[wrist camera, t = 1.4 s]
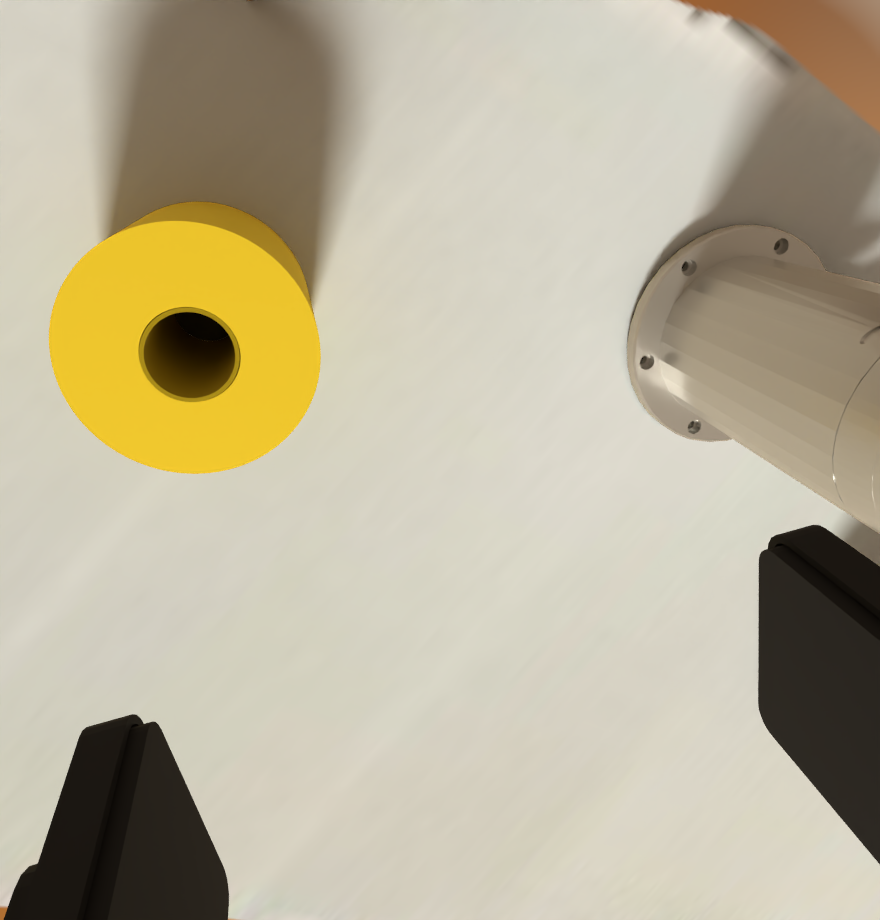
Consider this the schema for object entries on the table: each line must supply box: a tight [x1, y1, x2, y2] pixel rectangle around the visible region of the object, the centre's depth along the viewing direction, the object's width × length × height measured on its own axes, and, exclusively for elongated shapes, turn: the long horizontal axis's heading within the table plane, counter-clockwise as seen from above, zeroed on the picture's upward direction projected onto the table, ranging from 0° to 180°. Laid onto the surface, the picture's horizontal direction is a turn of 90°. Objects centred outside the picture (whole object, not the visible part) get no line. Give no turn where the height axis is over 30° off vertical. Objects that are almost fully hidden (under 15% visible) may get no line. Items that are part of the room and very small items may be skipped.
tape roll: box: [49, 202, 321, 474], centre depth 33 cm, size 10×10×9 cm
